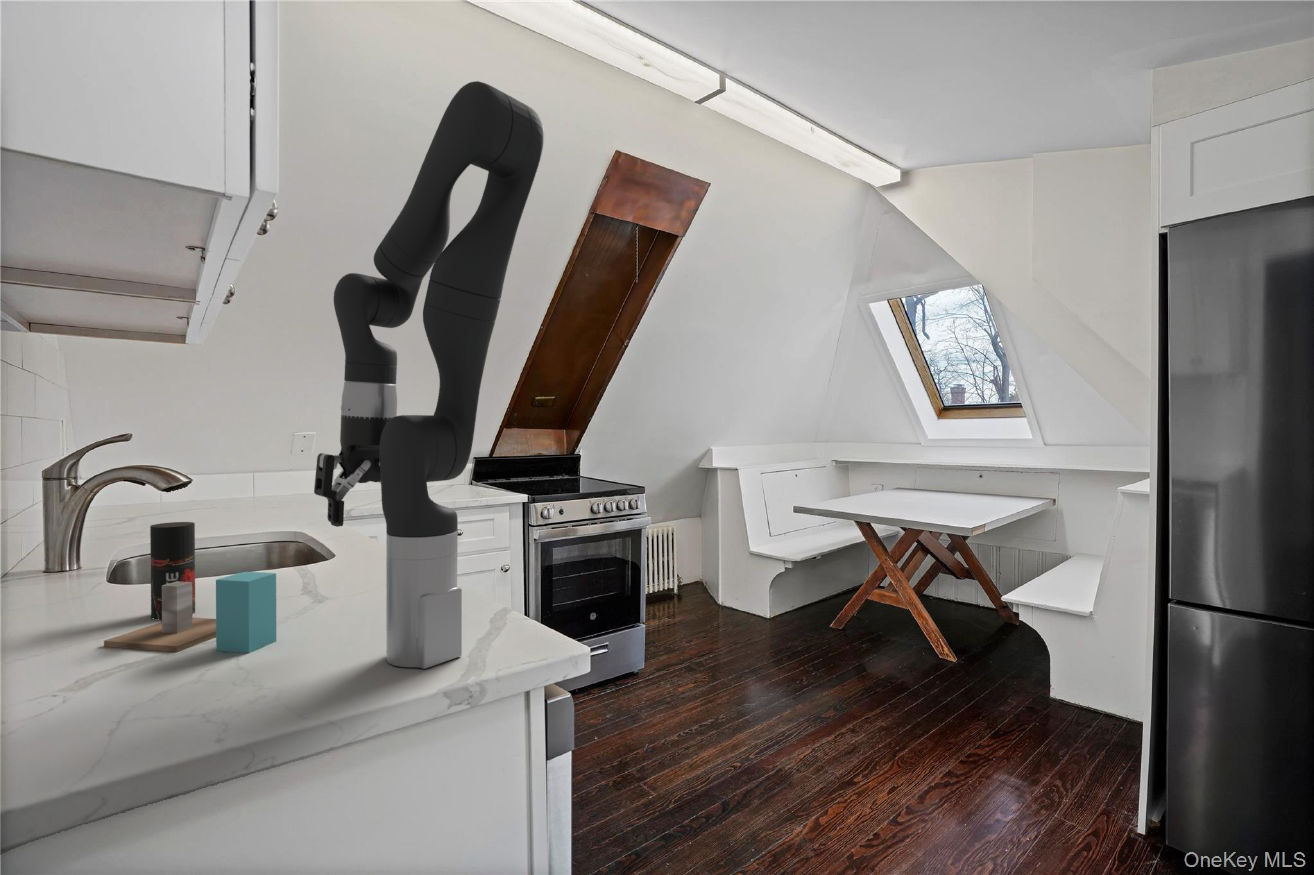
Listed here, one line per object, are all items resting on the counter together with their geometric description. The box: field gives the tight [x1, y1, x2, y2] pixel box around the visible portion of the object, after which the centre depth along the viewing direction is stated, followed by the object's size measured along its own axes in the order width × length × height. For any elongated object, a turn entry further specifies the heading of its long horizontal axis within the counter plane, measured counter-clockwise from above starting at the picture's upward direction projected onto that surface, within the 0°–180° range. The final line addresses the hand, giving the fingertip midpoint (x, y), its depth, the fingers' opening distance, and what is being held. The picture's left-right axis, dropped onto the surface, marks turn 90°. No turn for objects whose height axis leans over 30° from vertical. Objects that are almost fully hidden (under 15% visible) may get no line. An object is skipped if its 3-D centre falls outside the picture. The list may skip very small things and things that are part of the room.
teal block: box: [215, 571, 277, 654], centre depth 95 cm, size 5×5×10 cm
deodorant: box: [149, 521, 196, 621], centre depth 109 cm, size 6×6×15 cm
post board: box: [103, 581, 216, 653], centre depth 99 cm, size 12×12×8 cm
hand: (364, 522), depth 98 cm, fingers open, 8 cm apart
